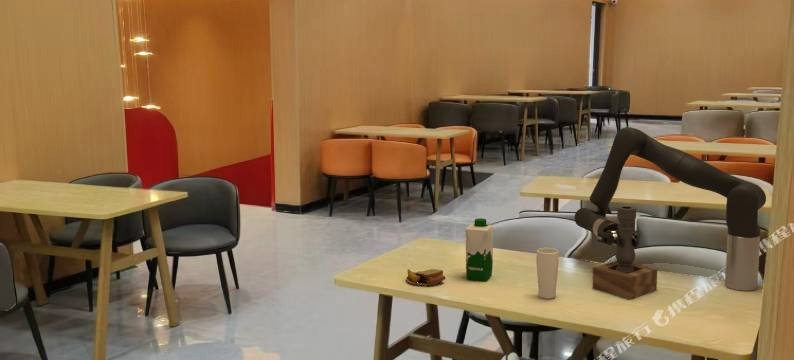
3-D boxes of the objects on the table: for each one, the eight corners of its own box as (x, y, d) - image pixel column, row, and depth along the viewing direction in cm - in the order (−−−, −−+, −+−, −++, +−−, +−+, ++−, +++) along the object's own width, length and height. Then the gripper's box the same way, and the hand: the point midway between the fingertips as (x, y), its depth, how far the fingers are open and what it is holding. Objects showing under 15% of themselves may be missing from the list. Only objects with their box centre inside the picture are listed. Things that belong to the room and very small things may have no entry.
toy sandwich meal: (432, 274, 245) (432, 261, 244) (450, 284, 233) (450, 271, 232) (400, 279, 240) (399, 266, 239) (417, 290, 228) (417, 276, 227)
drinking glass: (545, 301, 213) (546, 254, 211) (531, 295, 219) (532, 249, 217) (562, 298, 216) (563, 251, 214) (548, 291, 222) (549, 246, 220)
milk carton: (494, 275, 241) (494, 219, 238) (488, 283, 233) (488, 224, 229) (470, 272, 244) (470, 217, 241) (463, 280, 236) (462, 223, 233)
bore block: (619, 279, 232) (620, 259, 231) (656, 290, 221) (657, 269, 220) (592, 288, 224) (592, 267, 223) (629, 299, 213) (630, 277, 212)
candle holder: (635, 287, 219) (638, 210, 214) (615, 286, 220) (617, 209, 216) (633, 281, 225) (635, 205, 220) (613, 280, 226) (615, 205, 222)
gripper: (587, 220, 233) (608, 233, 216) (628, 218, 234) (651, 231, 217) (587, 242, 234) (607, 256, 217) (627, 240, 235) (651, 254, 219)
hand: (629, 243), depth 217 cm, fingers closed on candle holder, 4 cm apart
